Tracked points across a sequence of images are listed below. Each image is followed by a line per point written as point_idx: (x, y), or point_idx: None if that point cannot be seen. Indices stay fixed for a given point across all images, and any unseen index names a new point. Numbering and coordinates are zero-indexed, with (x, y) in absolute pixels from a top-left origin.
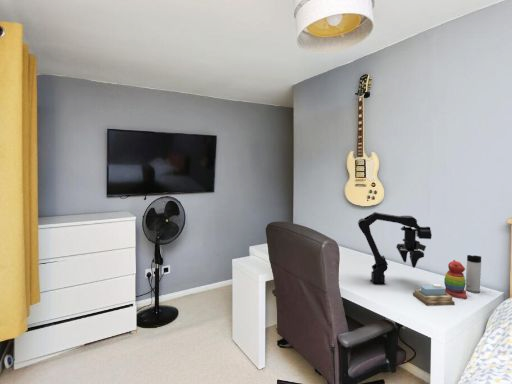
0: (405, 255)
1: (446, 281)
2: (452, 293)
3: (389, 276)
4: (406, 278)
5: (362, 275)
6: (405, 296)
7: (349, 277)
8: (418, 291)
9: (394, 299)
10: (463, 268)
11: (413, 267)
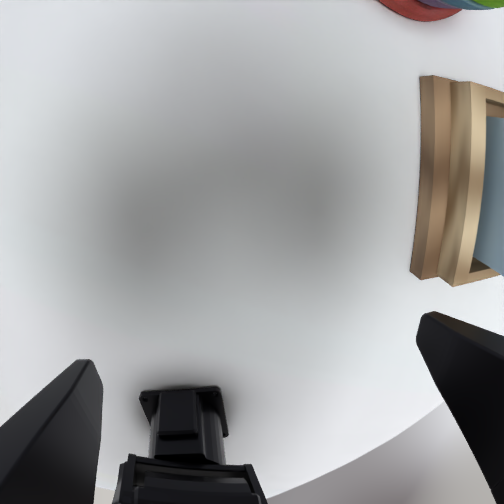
0: (41, 497)
1: (484, 1)
2: (455, 11)
3: (38, 304)
4: (55, 171)
5: None
6: (411, 319)
7: None
8: (473, 274)
9: (419, 375)
10: None
11: (427, 334)
